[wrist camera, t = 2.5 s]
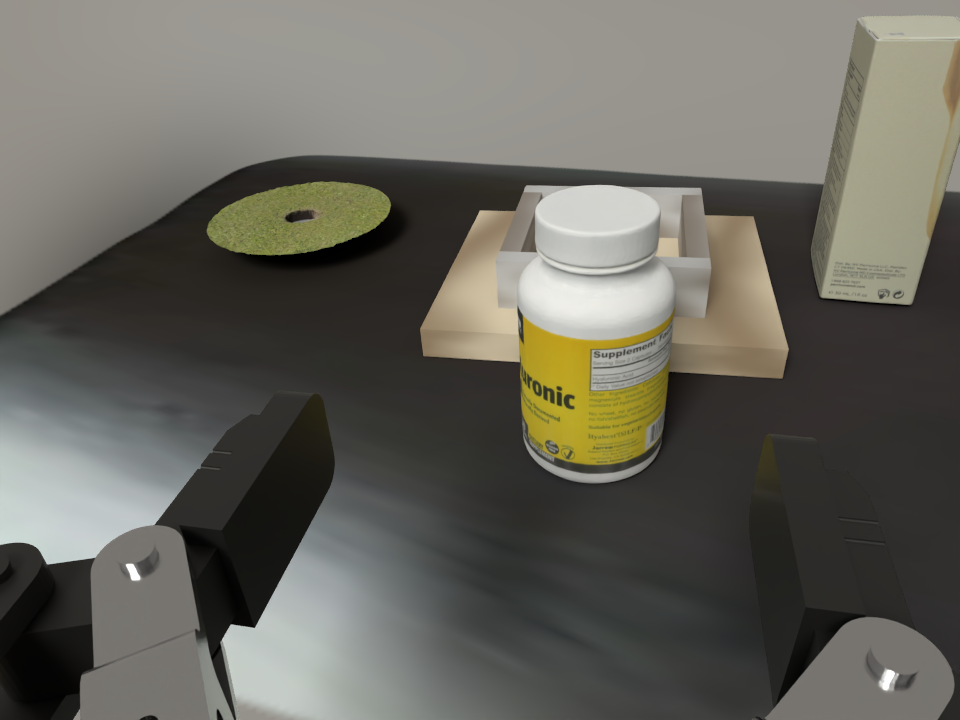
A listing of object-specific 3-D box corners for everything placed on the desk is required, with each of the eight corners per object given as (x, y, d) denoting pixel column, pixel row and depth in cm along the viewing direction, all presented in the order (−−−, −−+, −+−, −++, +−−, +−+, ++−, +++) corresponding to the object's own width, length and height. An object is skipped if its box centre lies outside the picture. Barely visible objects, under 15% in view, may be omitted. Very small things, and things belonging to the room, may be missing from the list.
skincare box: (913, 310, 35) (998, 38, 28) (816, 301, 36) (875, 39, 30) (892, 252, 40) (960, 10, 34) (808, 247, 41) (857, 12, 35)
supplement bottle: (503, 416, 30) (491, 191, 25) (622, 388, 31) (636, 166, 26) (552, 505, 26) (550, 255, 20) (688, 468, 27) (721, 222, 22)
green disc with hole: (381, 279, 41) (376, 248, 40) (187, 287, 42) (178, 256, 41) (404, 204, 51) (400, 176, 50) (245, 211, 51) (239, 184, 50)
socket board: (749, 240, 43) (759, 174, 40) (782, 378, 31) (799, 297, 29) (481, 233, 46) (477, 171, 43) (423, 355, 34) (414, 280, 32)
